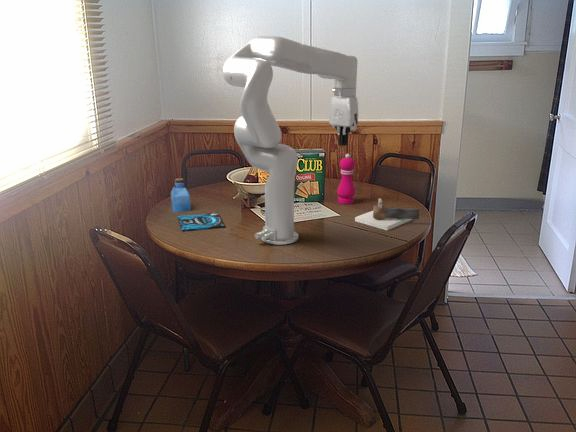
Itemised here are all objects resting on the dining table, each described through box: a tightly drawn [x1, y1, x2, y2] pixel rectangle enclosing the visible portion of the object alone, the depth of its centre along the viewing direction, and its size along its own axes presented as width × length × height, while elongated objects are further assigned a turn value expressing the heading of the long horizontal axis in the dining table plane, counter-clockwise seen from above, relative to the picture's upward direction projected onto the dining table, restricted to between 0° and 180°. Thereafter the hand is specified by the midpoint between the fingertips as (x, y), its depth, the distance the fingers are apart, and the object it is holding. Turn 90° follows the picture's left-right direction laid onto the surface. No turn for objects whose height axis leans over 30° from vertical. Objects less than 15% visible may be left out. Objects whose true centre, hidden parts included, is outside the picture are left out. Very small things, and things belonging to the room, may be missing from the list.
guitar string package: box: [177, 212, 226, 232], centre depth 193 cm, size 15×1×15 cm
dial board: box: [354, 210, 413, 231], centre depth 197 cm, size 16×15×2 cm
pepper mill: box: [336, 153, 356, 205], centre depth 215 cm, size 7×7×20 cm
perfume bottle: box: [170, 177, 192, 213], centre depth 206 cm, size 6×6×12 cm
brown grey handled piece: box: [372, 198, 420, 220], centre depth 193 cm, size 16×4×6 cm, turn 84°
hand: (342, 145), depth 192 cm, fingers closed
